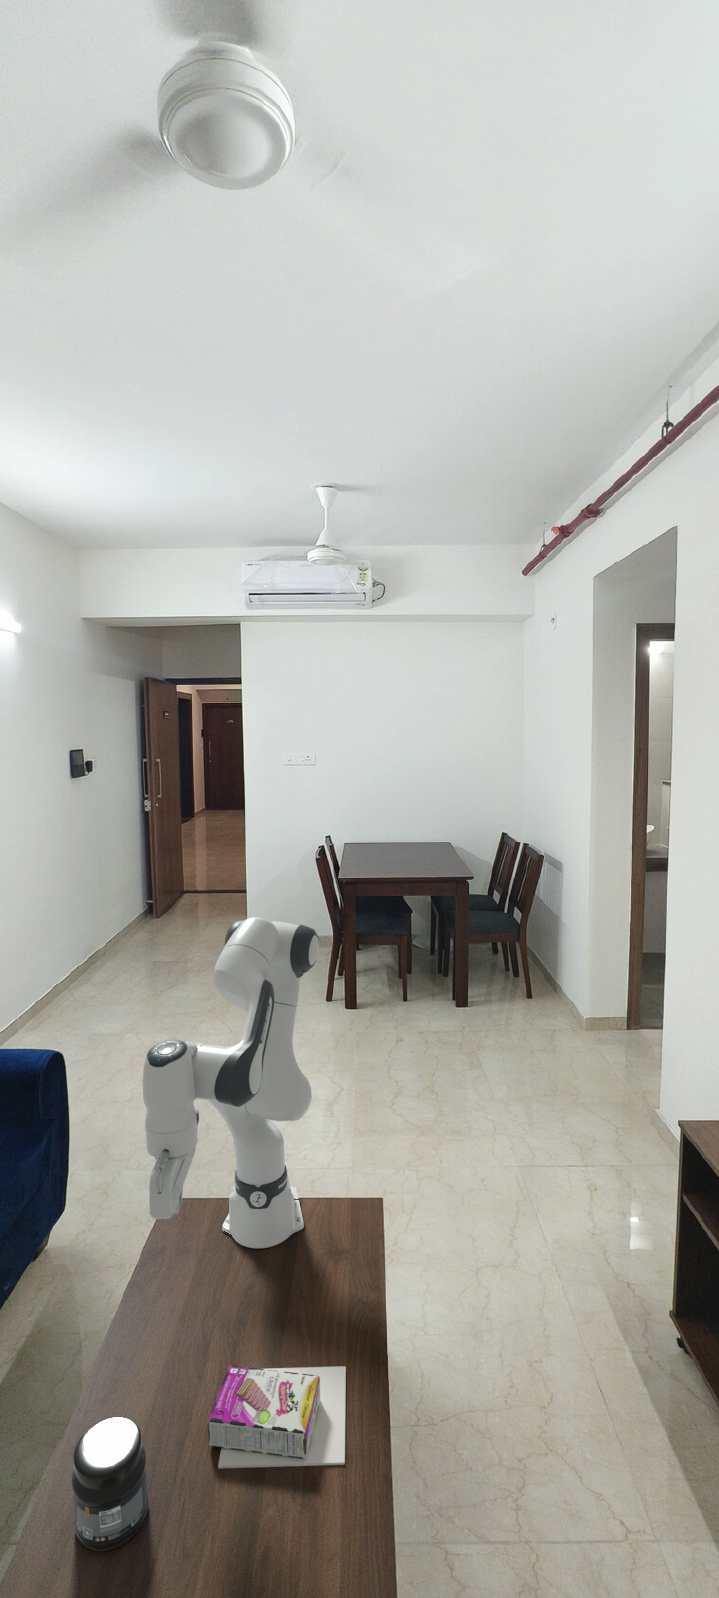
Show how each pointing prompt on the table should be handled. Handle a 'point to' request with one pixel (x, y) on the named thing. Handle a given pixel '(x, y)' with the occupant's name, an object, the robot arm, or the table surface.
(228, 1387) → the candy bar box
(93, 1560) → the table surface
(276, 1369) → the mat
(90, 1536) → the supplement container
